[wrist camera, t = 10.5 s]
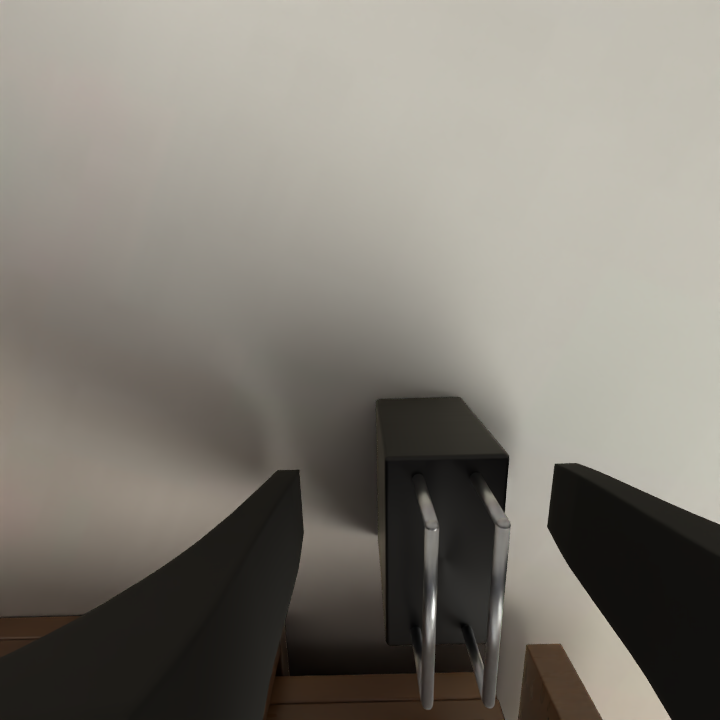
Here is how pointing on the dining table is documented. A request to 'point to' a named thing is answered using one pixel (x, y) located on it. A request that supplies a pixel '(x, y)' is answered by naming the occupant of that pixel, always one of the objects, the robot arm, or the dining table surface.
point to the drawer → (435, 694)
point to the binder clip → (441, 534)
